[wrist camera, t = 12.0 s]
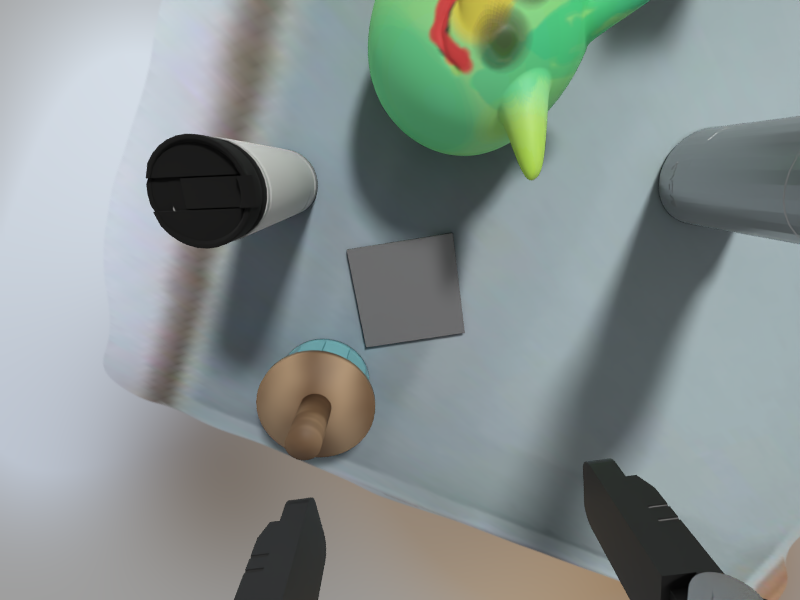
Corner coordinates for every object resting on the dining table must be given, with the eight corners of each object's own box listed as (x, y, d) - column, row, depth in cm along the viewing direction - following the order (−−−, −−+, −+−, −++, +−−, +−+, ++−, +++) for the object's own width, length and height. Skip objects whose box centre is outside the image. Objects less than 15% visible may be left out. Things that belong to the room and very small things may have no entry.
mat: (452, 232, 43) (452, 233, 42) (463, 330, 46) (464, 332, 46) (347, 249, 43) (346, 250, 43) (366, 345, 47) (366, 347, 46)
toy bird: (446, -104, 35) (479, -290, 21) (603, 19, 37) (727, -72, 23) (341, 98, 39) (309, 59, 25) (488, 195, 42) (533, 207, 28)
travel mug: (324, 213, 42) (264, 249, 23) (260, 216, 42) (146, 253, 23) (318, 148, 40) (246, 128, 21) (250, 151, 40) (119, 134, 21)
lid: (363, 341, 41) (357, 374, 34) (384, 444, 44) (381, 490, 38) (245, 359, 41) (217, 394, 35) (274, 459, 45) (254, 507, 39)
